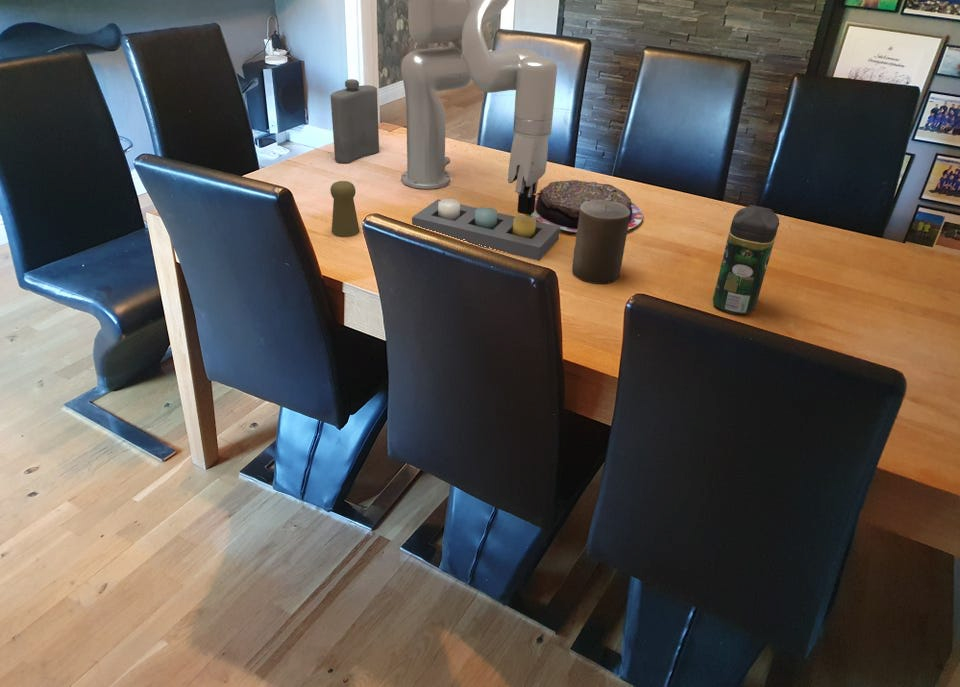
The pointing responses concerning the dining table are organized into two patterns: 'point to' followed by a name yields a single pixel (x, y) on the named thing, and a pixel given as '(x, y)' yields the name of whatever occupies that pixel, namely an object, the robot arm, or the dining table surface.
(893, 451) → the dining table surface
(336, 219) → the cork
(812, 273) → the dining table surface
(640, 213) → the chocolate cake
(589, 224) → the pillar candle
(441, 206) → the ivory button
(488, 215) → the teal button
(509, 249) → the console
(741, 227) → the coffee jar
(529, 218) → the mustard button
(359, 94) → the flask
